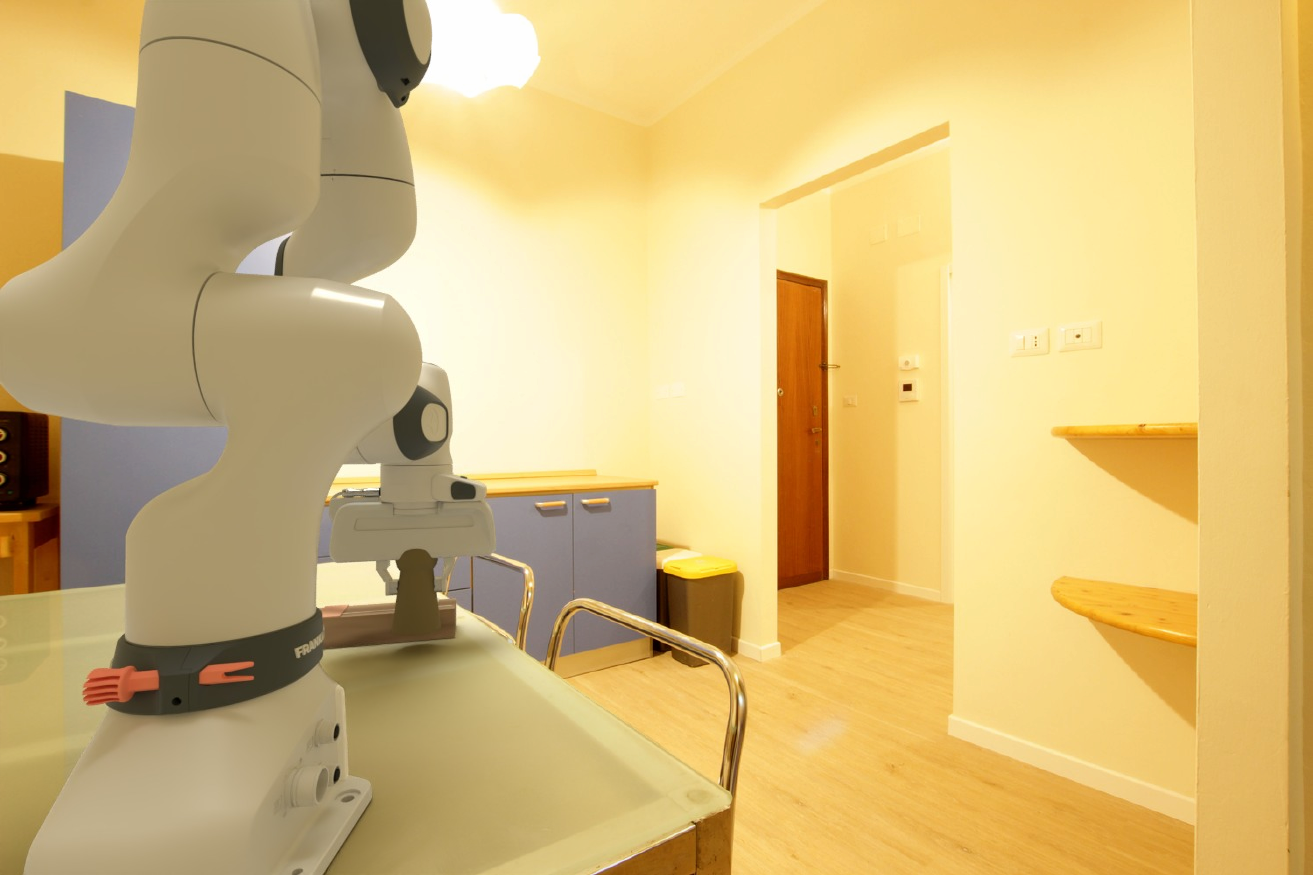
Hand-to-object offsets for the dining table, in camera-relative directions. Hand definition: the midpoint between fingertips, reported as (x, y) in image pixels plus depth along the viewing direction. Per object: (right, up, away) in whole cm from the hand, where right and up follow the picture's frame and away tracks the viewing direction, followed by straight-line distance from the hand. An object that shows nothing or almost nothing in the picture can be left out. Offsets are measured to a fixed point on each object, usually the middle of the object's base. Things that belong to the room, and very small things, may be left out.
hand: (416, 592), depth 79 cm
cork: (0, -5, 0) cm, 5 cm away
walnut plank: (-7, -8, +5) cm, 12 cm away
